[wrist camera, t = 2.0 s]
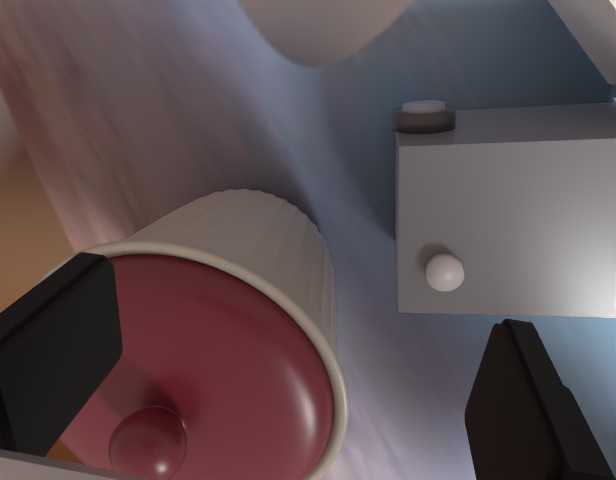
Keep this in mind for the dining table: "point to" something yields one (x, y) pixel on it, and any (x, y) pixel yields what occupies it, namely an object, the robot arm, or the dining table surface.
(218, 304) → the canister
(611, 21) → the side door
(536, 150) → the block
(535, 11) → the dining table surface
